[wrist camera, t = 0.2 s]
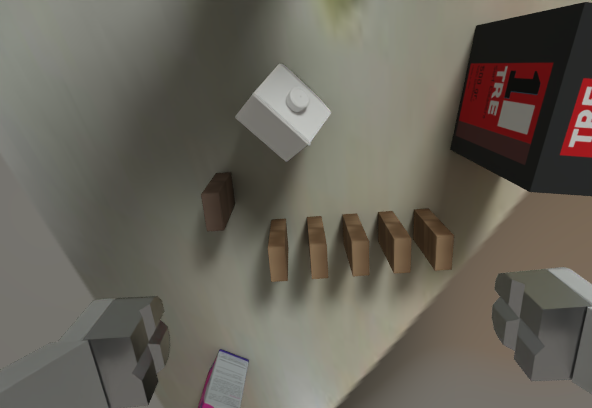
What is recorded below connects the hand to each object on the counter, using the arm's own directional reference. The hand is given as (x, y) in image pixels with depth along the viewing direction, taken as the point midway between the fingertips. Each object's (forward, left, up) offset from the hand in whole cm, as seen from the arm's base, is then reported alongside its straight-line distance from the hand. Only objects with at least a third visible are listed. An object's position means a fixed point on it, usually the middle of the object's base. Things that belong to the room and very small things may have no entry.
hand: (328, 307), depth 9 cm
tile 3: (+19, +1, -47) cm, 51 cm away
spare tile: (+11, -12, -47) cm, 50 cm away
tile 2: (+19, -4, -47) cm, 51 cm away
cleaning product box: (0, +27, -48) cm, 55 cm away
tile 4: (+19, +7, -47) cm, 52 cm away
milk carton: (-1, -2, -48) cm, 48 cm away
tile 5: (+19, +12, -47) cm, 53 cm away
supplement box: (+44, -16, -48) cm, 67 cm away
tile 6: (+19, +18, -47) cm, 54 cm away
